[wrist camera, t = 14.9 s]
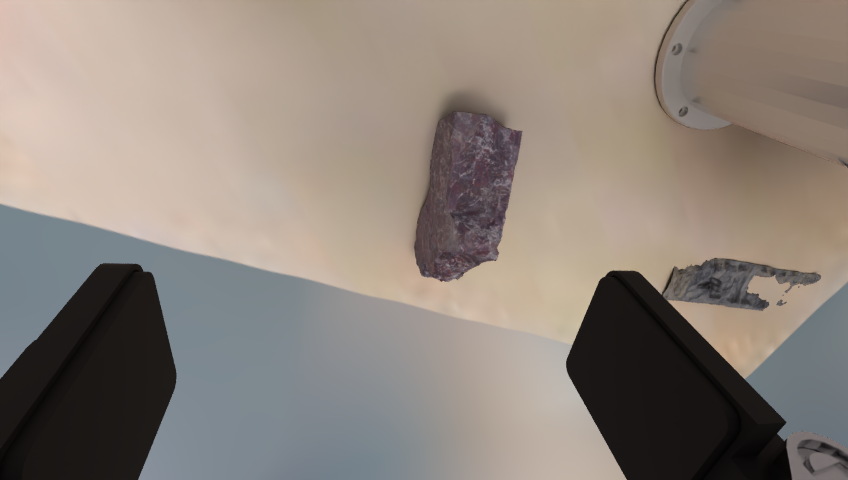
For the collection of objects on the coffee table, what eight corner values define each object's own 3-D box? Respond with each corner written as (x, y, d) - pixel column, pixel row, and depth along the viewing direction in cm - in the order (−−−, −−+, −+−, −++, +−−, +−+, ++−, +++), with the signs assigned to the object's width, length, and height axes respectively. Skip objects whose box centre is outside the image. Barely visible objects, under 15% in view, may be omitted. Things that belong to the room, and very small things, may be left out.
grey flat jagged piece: (650, 293, 51) (661, 305, 49) (682, 245, 47) (695, 256, 46) (774, 310, 57) (788, 321, 55) (809, 268, 54) (826, 279, 52)
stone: (490, 127, 25) (415, 322, 32) (574, 151, 28) (488, 329, 34) (442, 89, 34) (391, 248, 41) (509, 109, 36) (450, 257, 43)
